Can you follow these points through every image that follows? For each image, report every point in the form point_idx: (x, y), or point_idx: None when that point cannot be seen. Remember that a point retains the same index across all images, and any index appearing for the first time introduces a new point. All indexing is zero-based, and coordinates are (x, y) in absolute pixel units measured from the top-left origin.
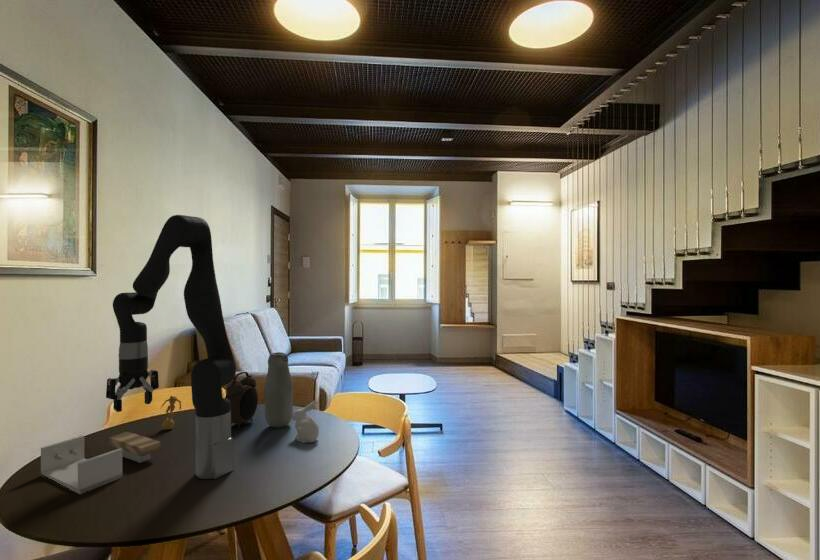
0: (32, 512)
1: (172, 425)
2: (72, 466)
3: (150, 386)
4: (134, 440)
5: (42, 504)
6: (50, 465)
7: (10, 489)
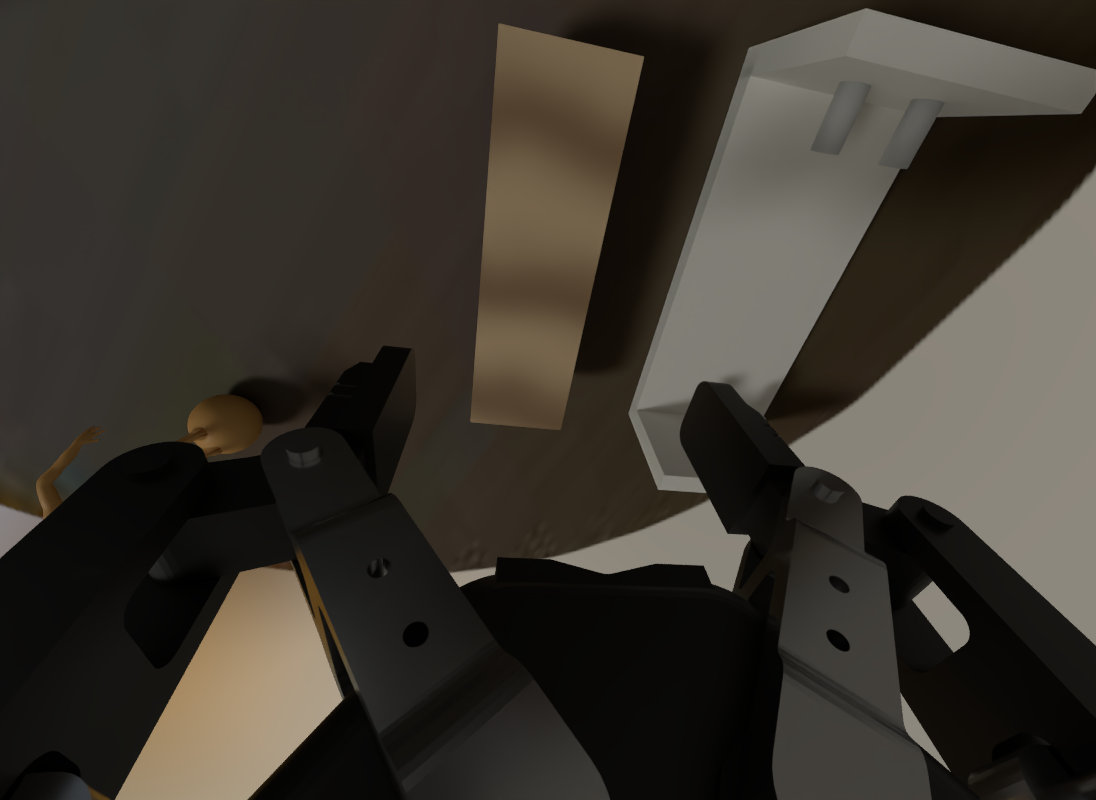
0: (1056, 139)
1: (213, 397)
2: (707, 378)
3: (288, 511)
4: (548, 263)
5: (987, 175)
6: None
7: (839, 409)
